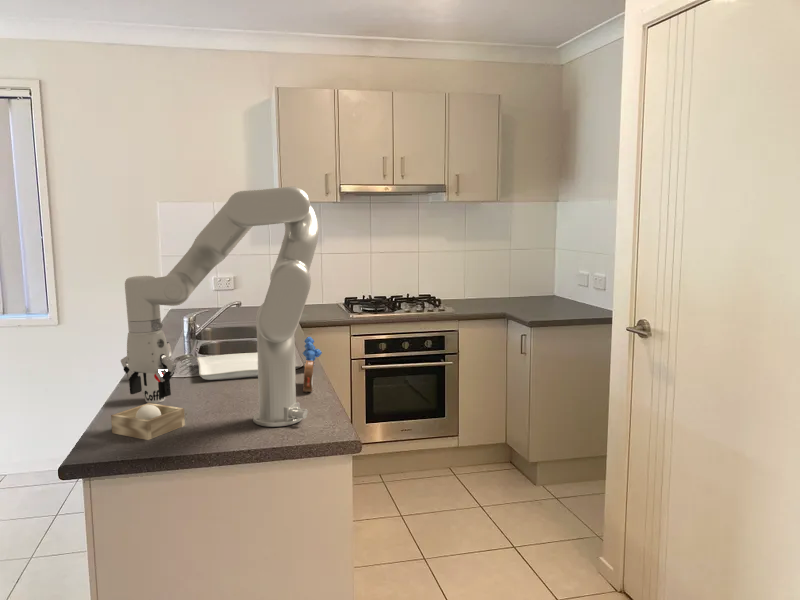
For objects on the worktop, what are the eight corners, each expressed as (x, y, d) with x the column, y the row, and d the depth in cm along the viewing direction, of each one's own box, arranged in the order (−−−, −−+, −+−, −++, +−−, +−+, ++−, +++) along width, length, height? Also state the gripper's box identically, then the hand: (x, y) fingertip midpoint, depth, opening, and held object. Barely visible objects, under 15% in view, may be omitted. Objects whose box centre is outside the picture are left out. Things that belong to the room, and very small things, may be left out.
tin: (305, 383, 208) (304, 357, 207) (315, 382, 209) (314, 357, 208) (302, 395, 194) (302, 368, 192) (313, 395, 194) (312, 367, 193)
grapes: (322, 373, 221) (322, 338, 220) (302, 374, 220) (301, 339, 219) (322, 365, 233) (321, 332, 231) (303, 366, 232) (302, 333, 230)
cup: (138, 405, 183) (136, 370, 182) (141, 397, 191) (140, 364, 190) (169, 403, 185) (167, 368, 184) (171, 395, 193) (169, 362, 192)
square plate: (196, 366, 233) (196, 356, 233) (273, 361, 242) (273, 350, 242) (199, 384, 208) (199, 372, 207) (285, 377, 217) (285, 366, 216)
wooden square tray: (184, 425, 165) (184, 408, 165) (148, 440, 154) (147, 421, 154) (149, 419, 170) (149, 402, 170) (112, 433, 160) (111, 415, 159)
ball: (167, 426, 164) (165, 403, 163) (148, 433, 158) (147, 409, 158) (149, 423, 166) (148, 400, 166) (130, 430, 161) (129, 406, 160)
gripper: (182, 325, 159) (187, 394, 161) (131, 322, 166) (136, 387, 169) (159, 331, 152) (165, 402, 154) (107, 327, 160) (113, 395, 162)
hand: (150, 394), depth 162 cm, fingers open, 9 cm apart
